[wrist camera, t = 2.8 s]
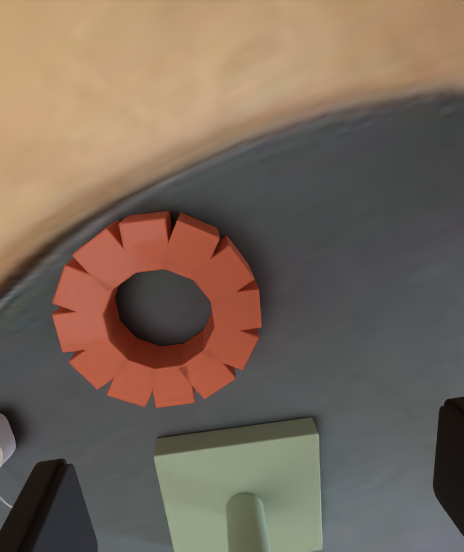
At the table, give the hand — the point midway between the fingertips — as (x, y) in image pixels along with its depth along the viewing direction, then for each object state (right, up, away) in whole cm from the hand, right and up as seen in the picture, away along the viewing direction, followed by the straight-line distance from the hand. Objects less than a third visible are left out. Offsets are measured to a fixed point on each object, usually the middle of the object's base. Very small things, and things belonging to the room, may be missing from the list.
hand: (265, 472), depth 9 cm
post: (0, -9, +15) cm, 18 cm away
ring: (-5, +3, +11) cm, 12 cm away
